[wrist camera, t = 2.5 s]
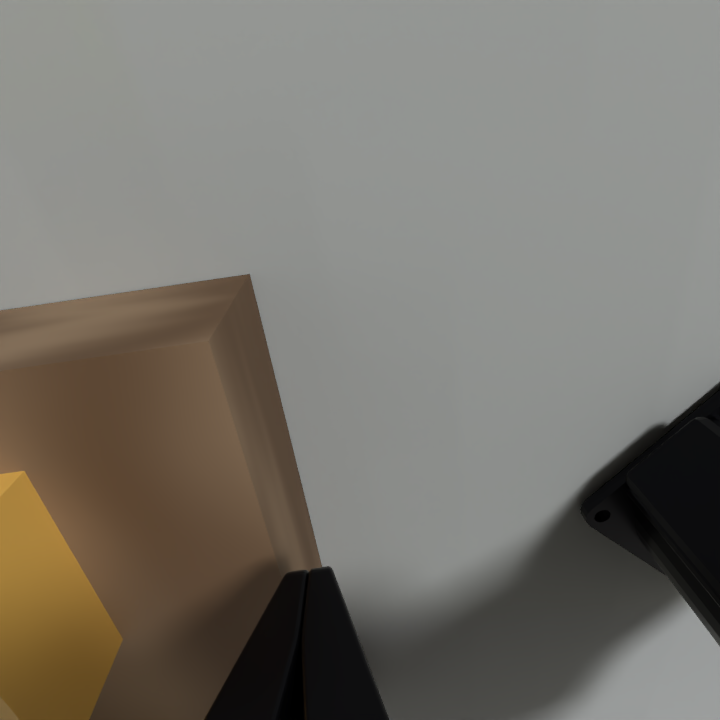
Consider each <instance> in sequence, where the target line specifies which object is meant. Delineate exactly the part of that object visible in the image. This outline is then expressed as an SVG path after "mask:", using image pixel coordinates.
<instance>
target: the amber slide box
mask: <svg viewBox="0 0 720 720" xmlns="http://www.w3.org/2000/svg"><path fill="white" fill-rule="evenodd" d="M122 640H123V638H122V637H121V635H120V633H119V632H118V630H117V628H116V626H115V625H114V623H113V621H112V620H111V618H110V616H109V615H108V613H107V611H106V609H105V608H104V606H103V604H102V603H101V601H100V599H99V597H98V596H97V594H96V592H95V591H94V589H93V587H92V586H91V584H90V582H89V580H88V579H87V577H86V575H85V574H84V572H83V570H82V568H81V567H80V565H79V563H78V562H77V560H76V558H75V556H74V555H73V553H72V551H71V550H70V548H69V546H68V545H67V543H66V541H65V539H64V538H63V536H62V534H61V533H60V531H59V529H58V527H57V526H56V524H55V522H54V521H53V519H52V517H51V516H50V514H49V512H48V510H47V509H46V507H45V505H44V504H43V502H42V500H41V498H40V497H39V495H38V493H37V492H36V490H35V488H34V487H33V485H32V483H31V481H30V480H29V478H28V476H27V475H26V473H25V471H19V472H12V473H5V474H0V720H89V719H90V716H91V714H92V712H93V709H94V707H95V705H96V702H97V700H98V697H99V695H100V693H101V690H102V688H103V686H104V683H105V681H106V678H107V676H108V674H109V671H110V669H111V667H112V664H113V662H114V659H115V657H116V655H117V652H118V650H119V648H120V645H121V643H122Z"/></svg>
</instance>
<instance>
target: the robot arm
mask: <svg viewBox="0 0 720 720" xmlns="http://www.w3.org/2000/svg"><path fill="white" fill-rule="evenodd" d="M580 510H581V514H582V516H583V517H584V519H585V520H586V522H587V523H588V524H589V525H590V526H591V527H592V528H594V529H596V530H597V531H599V532H600V533H602V534H603V535H605V536H606V537H608V538H609V539H611V540H612V541H614V542H616V543H617V544H619V545H620V546H622V547H623V548H625V549H626V550H628V551H629V552H631V553H632V554H634V555H636V556H637V557H639V558H640V559H642V560H643V561H645V562H646V563H648V564H649V565H651V566H652V567H654V568H656V569H657V570H659V571H660V572H662V573H663V574H665V575H666V576H667V577H668V578H669V579H670V581H671V582H672V583H673V585H674V586H675V587H676V589H677V590H678V591H679V593H680V594H681V595H682V597H683V598H684V599H685V601H686V602H687V603H688V605H689V606H690V607H691V609H692V610H693V611H694V613H695V614H696V615H697V617H698V618H699V619H700V621H701V622H702V623H703V625H704V626H705V627H706V629H707V630H708V631H709V633H710V634H711V635H712V637H713V638H714V639H715V641H716V642H717V643H718V645H719V646H720V390H719V391H718V392H717V393H716V394H714V395H713V396H712V397H711V398H710V399H708V400H707V401H706V402H705V403H703V404H702V405H701V406H700V407H699V408H697V409H696V410H695V411H694V412H693V413H691V414H690V415H689V416H688V417H686V418H685V419H684V420H683V421H682V422H680V423H679V424H678V425H677V426H675V427H674V428H673V429H672V430H671V431H669V432H668V433H667V434H666V435H665V436H663V437H662V438H661V439H660V440H658V441H657V442H656V443H655V444H654V445H652V446H651V447H650V448H649V449H647V450H646V451H645V452H644V453H643V454H641V455H640V456H639V457H638V458H637V459H635V460H634V461H633V462H632V463H630V464H629V465H628V466H627V467H626V468H624V469H623V470H622V471H621V472H620V473H618V474H617V475H616V476H615V477H613V478H612V479H611V480H610V481H609V482H607V483H606V484H605V485H604V486H602V487H601V488H600V489H599V490H598V491H596V492H595V493H594V494H593V495H592V496H590V497H589V498H588V499H587V500H586V501H585V502H584V503H583V504H582V506H581V509H580ZM204 720H389V718H388V715H387V712H386V710H385V707H384V704H383V702H382V699H381V697H380V694H379V691H378V689H377V686H376V683H375V681H374V678H373V675H372V673H371V670H370V667H369V665H368V662H367V659H366V657H365V654H364V651H363V649H362V646H361V644H360V641H359V638H358V636H357V633H356V630H355V628H354V625H353V622H352V620H351V617H350V614H349V612H348V609H347V606H346V604H345V601H344V599H343V596H342V593H341V591H340V588H339V585H338V583H337V580H336V577H335V575H334V572H333V570H332V568H331V567H329V566H327V567H320V568H313V569H311V570H310V571H308V570H297V571H290V572H287V573H286V574H285V575H284V576H283V578H282V580H281V582H280V583H279V585H278V587H277V589H276V591H275V592H274V594H273V596H272V598H271V600H270V601H269V603H268V605H267V607H266V609H265V610H264V612H263V614H262V616H261V618H260V619H259V621H258V623H257V625H256V627H255V628H254V630H253V632H252V634H251V636H250V637H249V639H248V641H247V643H246V645H245V646H244V648H243V650H242V652H241V653H240V655H239V657H238V659H237V661H236V662H235V664H234V666H233V668H232V670H231V671H230V673H229V675H228V677H227V679H226V680H225V682H224V684H223V686H222V688H221V689H220V691H219V693H218V695H217V697H216V698H215V700H214V702H213V704H212V706H211V707H210V709H209V711H208V713H207V715H206V716H205V718H204Z"/></svg>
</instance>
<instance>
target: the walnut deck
mask: <svg viewBox="0 0 720 720" xmlns="http://www.w3.org/2000/svg"><path fill="white" fill-rule="evenodd" d="M19 471H25V473H26V475H27V476H28V478H29V480H30V481H31V483H32V485H33V487H34V488H35V490H36V492H37V493H38V495H39V497H40V498H41V500H42V502H43V504H44V505H45V507H46V509H47V510H48V512H49V514H50V516H51V517H52V519H53V521H54V522H55V524H56V526H57V527H58V529H59V531H60V533H61V534H62V536H63V538H64V539H65V541H66V543H67V545H68V546H69V548H70V550H71V551H72V553H73V555H74V556H75V558H76V560H77V562H78V563H79V565H80V567H81V568H82V570H83V572H84V574H85V575H86V577H87V579H88V580H89V582H90V584H91V586H92V587H93V589H94V591H95V592H96V594H97V596H98V597H99V599H100V601H101V603H102V604H103V606H104V608H105V609H106V611H107V613H108V615H109V616H110V618H111V620H112V621H113V623H114V625H115V626H116V628H117V630H118V632H119V633H120V635H121V637H122V638H123V640H122V643H121V645H120V648H119V650H118V652H117V655H116V657H115V659H114V662H113V664H112V667H111V669H110V671H109V674H108V676H107V678H106V681H105V683H104V686H103V688H102V690H101V693H100V695H99V697H98V700H97V702H96V705H95V707H94V709H93V712H92V714H91V716H90V719H89V720H204V718H205V716H206V715H207V713H208V711H209V709H210V707H211V706H212V704H213V702H214V700H215V698H216V697H217V695H218V693H219V691H220V689H221V688H222V686H223V684H224V682H225V680H226V679H227V677H228V675H229V673H230V671H231V670H232V668H233V666H234V664H235V662H236V661H237V659H238V657H239V655H240V653H241V652H242V650H243V648H244V646H245V645H246V643H247V641H248V639H249V637H250V636H251V634H252V632H253V630H254V628H255V627H256V625H257V623H258V621H259V619H260V618H261V616H262V614H263V612H264V610H265V609H266V607H267V605H268V603H269V601H270V600H271V598H272V596H273V594H274V592H275V591H276V589H277V587H278V585H279V583H280V582H281V580H282V578H283V576H284V575H285V574H286V573H287V572H290V571H297V570H308V571H310V570H311V569H313V568H320V567H322V565H321V561H320V557H319V553H318V549H317V545H316V541H315V537H314V533H313V529H312V524H311V520H310V516H309V512H308V508H307V504H306V500H305V496H304V492H303V488H302V484H301V480H300V476H299V472H298V468H297V464H296V460H295V456H294V452H293V448H292V444H291V440H290V436H289V431H288V427H287V423H286V419H285V415H284V411H283V407H282V403H281V399H280V395H279V391H278V387H277V383H276V379H275V375H274V371H273V367H272V363H271V359H270V355H269V351H268V347H267V343H266V338H265V334H264V330H263V326H262V322H261V318H260V314H259V310H258V306H257V302H256V298H255V294H254V290H253V286H252V282H251V278H250V274H248V275H241V276H234V277H227V278H220V279H213V280H207V281H200V282H193V283H186V284H179V285H172V286H166V287H159V288H152V289H145V290H138V291H131V292H125V293H118V294H111V295H104V296H97V297H90V298H83V299H77V300H70V301H63V302H56V303H49V304H42V305H36V306H29V307H22V308H15V309H8V310H1V311H0V474H5V473H12V472H19Z"/></svg>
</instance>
